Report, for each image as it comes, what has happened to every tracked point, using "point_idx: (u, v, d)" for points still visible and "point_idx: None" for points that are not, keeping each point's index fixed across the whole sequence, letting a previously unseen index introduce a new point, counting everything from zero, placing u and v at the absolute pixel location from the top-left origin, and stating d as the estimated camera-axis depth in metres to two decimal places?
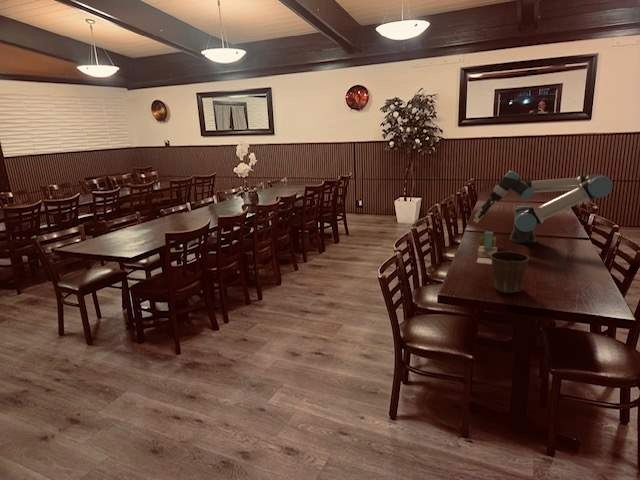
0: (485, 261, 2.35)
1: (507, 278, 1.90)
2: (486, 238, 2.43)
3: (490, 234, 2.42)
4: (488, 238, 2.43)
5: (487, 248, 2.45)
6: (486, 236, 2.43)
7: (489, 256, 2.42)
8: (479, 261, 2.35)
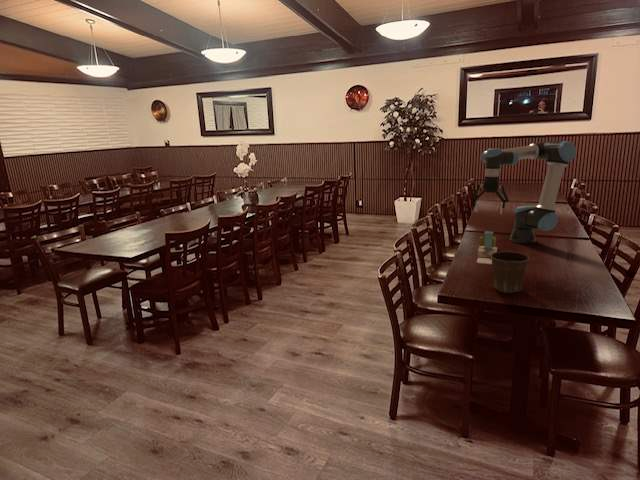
0: (485, 261, 2.35)
1: (507, 278, 1.90)
2: (486, 238, 2.43)
3: (490, 234, 2.42)
4: (488, 238, 2.43)
5: (487, 248, 2.45)
6: (486, 236, 2.43)
7: (489, 256, 2.42)
8: (479, 261, 2.35)
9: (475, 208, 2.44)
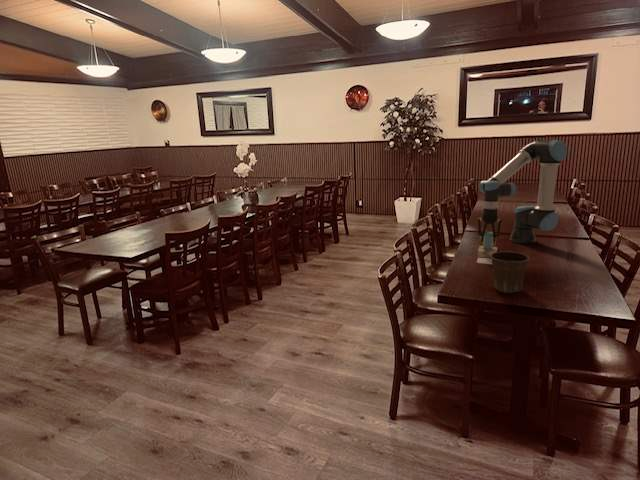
0: (485, 261, 2.35)
1: (507, 278, 1.90)
2: (486, 238, 2.43)
3: (490, 234, 2.42)
4: (488, 238, 2.43)
5: (487, 248, 2.45)
6: (486, 236, 2.43)
7: (489, 256, 2.42)
8: (479, 261, 2.35)
9: (483, 243, 2.45)
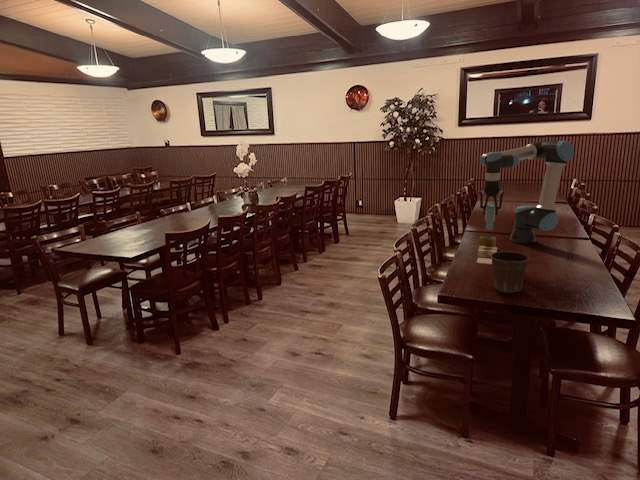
0: (485, 261, 2.35)
1: (507, 278, 1.90)
2: (488, 211, 2.39)
3: (492, 207, 2.38)
4: (490, 211, 2.39)
5: (489, 221, 2.40)
6: (488, 209, 2.39)
7: (489, 256, 2.42)
8: (479, 261, 2.35)
9: (485, 217, 2.41)
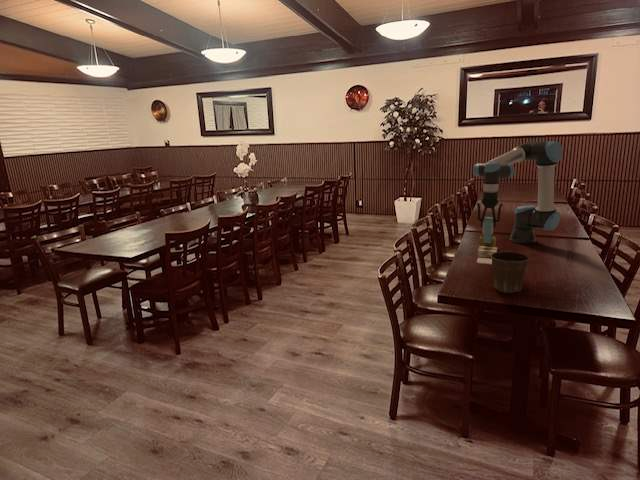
0: (485, 261, 2.35)
1: (507, 278, 1.90)
2: (486, 223, 2.29)
3: (490, 219, 2.28)
4: (488, 223, 2.29)
5: (487, 234, 2.31)
6: (486, 221, 2.29)
7: (489, 256, 2.42)
8: (479, 261, 2.35)
9: None
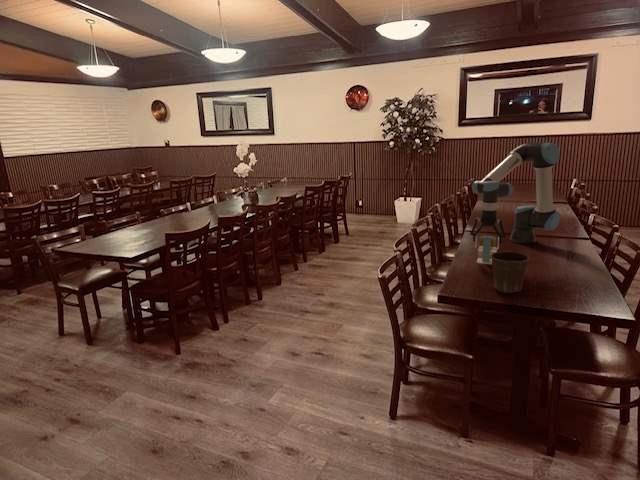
0: None
1: (507, 278, 1.90)
2: (484, 242, 2.32)
3: (489, 238, 2.31)
4: (487, 242, 2.32)
5: (486, 253, 2.33)
6: (484, 240, 2.32)
7: None
8: (479, 261, 2.35)
9: (475, 244, 2.35)
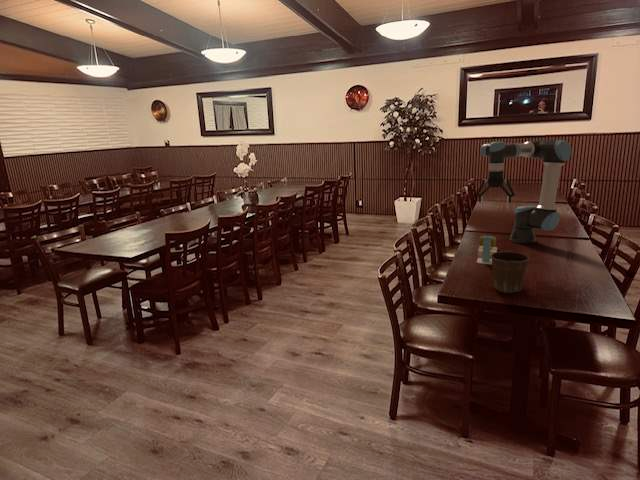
0: None
1: (507, 278, 1.90)
2: (484, 242, 2.32)
3: (489, 238, 2.31)
4: (487, 242, 2.32)
5: (486, 253, 2.33)
6: (484, 240, 2.32)
7: None
8: (479, 261, 2.35)
9: None
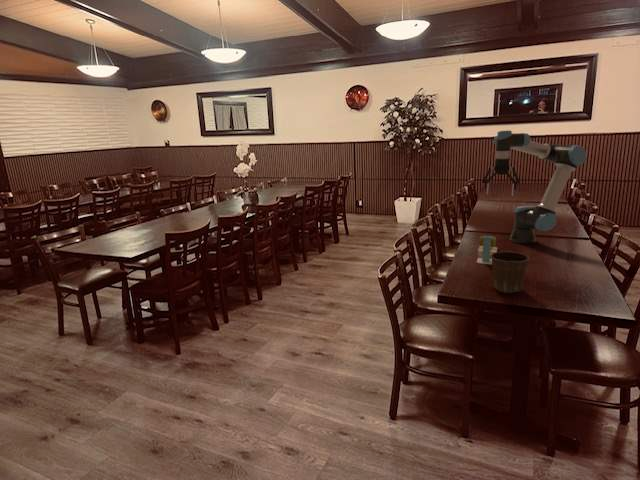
0: None
1: (507, 278, 1.90)
2: (484, 242, 2.32)
3: (489, 238, 2.31)
4: (487, 242, 2.32)
5: (486, 253, 2.33)
6: (484, 240, 2.32)
7: None
8: (479, 261, 2.35)
9: None
